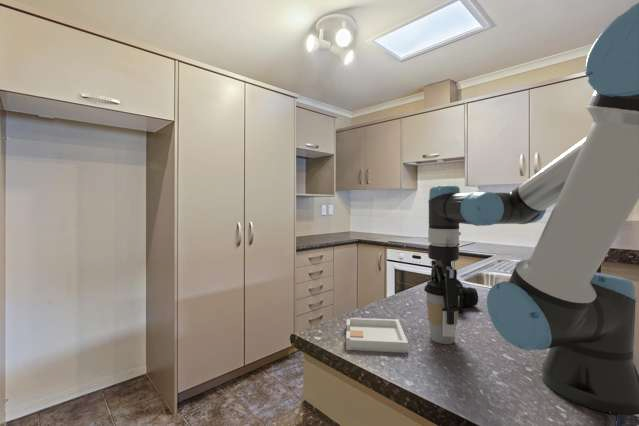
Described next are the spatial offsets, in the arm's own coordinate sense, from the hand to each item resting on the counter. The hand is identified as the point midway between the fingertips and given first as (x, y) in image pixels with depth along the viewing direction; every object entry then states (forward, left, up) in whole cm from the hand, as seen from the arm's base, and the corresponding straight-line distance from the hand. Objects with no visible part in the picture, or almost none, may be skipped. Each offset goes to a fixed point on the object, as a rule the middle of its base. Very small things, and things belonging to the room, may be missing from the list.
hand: (442, 327), depth 82 cm
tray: (-1, +18, -3) cm, 18 cm away
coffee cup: (0, 0, -3) cm, 3 cm away
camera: (+28, -14, -4) cm, 31 cm away
